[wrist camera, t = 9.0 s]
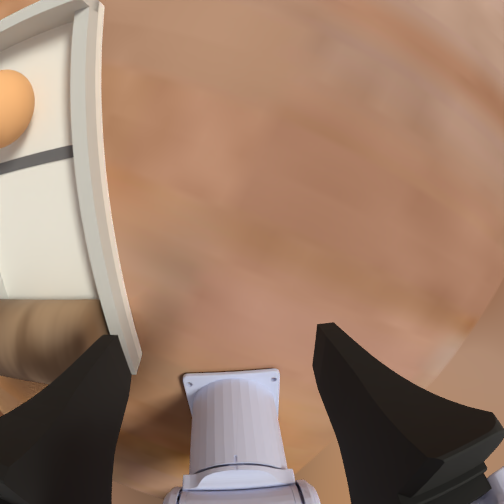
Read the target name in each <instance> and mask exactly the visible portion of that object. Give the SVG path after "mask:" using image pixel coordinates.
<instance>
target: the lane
mask: <svg viewBox="0 0 504 504" xmlns="http://www.w3.org/2000/svg"><path fill="white" fill-rule="evenodd" d="M104 8H105V6H104V5H103V4H102V3H101V2H99V1H98V0H41V1H38V2H36V3H34V4H32V5H30V6H27V7H25V8H23V9H21V10H19V11H17V12H15V13H13V14H11V15H9V16H7V17H6V18H4V19H2V20H0V70H6V69H8V70H14V71H17V72H19V73H21V74H23V75H24V76H25V77H26V78H27V79H28V80H29V82H30V83H31V85H32V88H33V91H34V96H35V107H34V112H33V116H32V118H31V121H30V123H29V125H28V127H27V128H26V130H25V131H24V133H23V134H22V135H21V136H20V137H19V138H18V139H17V140H16V141H14V142H13V143H11V144H10V145H8V146H6V147H4V148H0V299H33V300H76V299H99V300H100V302H101V305H102V309H103V312H104V316H105V319H106V322H107V326H108V329H109V332H110V335H118V337H119V340H120V343H121V346H122V349H123V352H124V355H125V358H126V361H127V363H128V366H129V369H130V372H131V374H133V375H136V374H137V370H138V367H139V364H140V360H141V357H142V351H141V347H140V344H139V340H138V337H137V333H136V329H135V326H134V322H133V318H132V314H131V310H130V306H129V302H128V298H127V293H126V289H125V284H124V280H123V275H122V270H121V265H120V260H119V255H118V250H117V244H116V239H115V233H114V227H113V221H112V214H111V207H110V200H109V192H108V184H107V175H106V165H105V154H104V141H103V125H102V100H101V59H102V34H103V20H104Z"/></svg>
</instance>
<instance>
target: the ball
mask: <svg viewBox="0 0 504 504" xmlns="http://www.w3.org/2000/svg"><path fill="white" fill-rule="evenodd" d="M34 107H35V96H34V91H33V88H32V85H31V83H30V82H29V80H28V79H27V78H26V77H25V76H24V75H23V74H21V73H19V72H17V71H14V70H8V69H6V70H0V148H4V147H6V146H8V145H10V144H11V143H13V142H14V141H16V140H17V139H18V138H19V137H20V136H21V135H22V134H23V133H24V131H25V130H26V128H27V127H28V125H29V123H30V121H31V118H32V116H33V112H34Z"/></svg>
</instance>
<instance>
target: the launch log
mask: <svg viewBox="0 0 504 504" xmlns="http://www.w3.org/2000/svg"><path fill="white" fill-rule="evenodd" d="M102 335H110V332H109V329H108V326H107V322H106V319H105V316H104V312H103V309H102V305H101V302H100V300H99V299H76V300H33V299H0V375H1V376H6V377H11V378H16V379H21V380H26V381H32V382H38V383H44V384H51V383H52V382H53V381H54V380H55V379H56V378H57V377H58V376H60V375H61V374H62V373H63V372H64V371H65V370H66V369H67V368H68V367H70V366H71V365H72V364H73V363H74V362H75V361H76V360H77V359H78V358H79V357H80V356H81V355H82V354H83V353H84V352H85V351H86V350H87V349H88V348H89V347H90V346H91V345H92V344H93V343H94V342H95V341H96V340H97V339H99V338H100V337H101V336H102Z"/></svg>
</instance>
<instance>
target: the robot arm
mask: <svg viewBox="0 0 504 504" xmlns="http://www.w3.org/2000/svg"><path fill="white" fill-rule="evenodd" d="M312 366H313V370H314V374H315V379H316V383H317V387H318V390H319V393H320V395H321V398H322V401H323V403H324V406H325V409H326V411H327V414H328V416H329V419H330V421H331V424H332V427H333V429H334V432H335V434H336V437H337V440H338V443H339V447H340V451H341V455H342V459H343V463H344V468H345V472H346V477H347V482H348V486H349V492H350V498H351V504H504V466H503V467H502V468H500V469H499V470H497V471H496V472H494V473H493V474H492V475H490V476H489V477H488V478H486V477H485V475H484V472H485V471H486V470H487V467H486V465H485V463H484V461H485V460H486V459H487V458H488V457H489V455H490V454H491V453H492V452H493V451H494V450H495V449H496V448H497V447H498V445H499V444H500V443H501V442H502V440H503V438H504V428H503V427H502V425H501V424H500V422H499V421H498V420H497V418H496V417H495V415H494V414H493V413H492V412H488V411H484V410H479V409H475V408H471V407H467V406H464V405H461V404H458V403H455V402H453V401H450V400H447V399H445V398H442V397H440V396H437V395H435V394H433V393H431V392H429V391H426V390H425V389H423V388H421V387H419V386H417V385H415V384H413V383H412V382H410V381H408V380H406V379H405V378H403V377H401V376H400V375H398V374H397V373H395V372H394V371H392V370H391V369H389V368H388V367H387V366H385V365H384V364H382V363H381V362H380V361H378V360H377V359H376V358H374V357H373V356H372V355H371V354H369V353H368V352H367V351H366V350H365V349H363V348H362V347H361V346H360V345H359V344H357V343H356V342H355V341H354V340H353V339H352V338H351V337H349V336H348V335H347V334H346V333H345V332H344V331H343V330H342V329H340V328H339V327H338V326H337V325H336V324H335V323H334V322H333V323H325V324H317V332H316V341H315V349H314V357H313V365H312ZM131 375H132V374H131V372H130V369H129V366H128V363H127V361H126V358H125V355H124V352H123V349H122V346H121V343H120V340H119V337H118V335H102V336H101V337H100V338H99V339H97V340H96V341H95V342H94V343H93V344H92V345H91V346H90V347H89V348H88V349H87V350H86V351H85V352H84V353H83V354H82V355H81V356H80V357H79V358H78V359H77V360H76V361H75V362H74V363H73V364H72V365H71V366H70V367H68V368H67V369H66V370H65V371H64V372H63V373H62V374H61V375H60V376H58V377H57V378H56V379H55V380H54V381H53V382H52V383H51V384H49V385H48V386H47V387H46V388H44V389H43V390H42V391H41V392H39V393H38V394H37V395H35V396H34V397H32V398H31V399H30V400H28V401H27V402H25V403H23V404H22V405H20V406H19V407H17V408H15V409H14V410H12V411H10V412H9V413H7V414H5V415H3V416H1V417H0V504H111V493H112V492H111V491H112V473H113V463H114V454H115V448H116V443H117V439H118V435H119V432H120V428H121V424H122V420H123V416H124V413H125V409H126V405H127V401H128V397H129V390H130V383H131ZM272 378H273V379H272ZM279 381H280V373H279V370H278V369H274V368H273V369H262V370H250V371H235V372H217V373H188V374H185V375H184V376H183V384H184V388H185V392H186V395H187V399H188V403H189V407H190V411H191V414H192V429H191V447H190V469H189V475H183V487H174V488H172V489H171V491H170V492H169V493H168V494H167V495H166V496H165V498H164V501H163V504H321V503H320V500H319V497H318V494H317V492H316V490H315V488H314V487H313V486H311V485H310V484H309V483H307V482H306V481H305V480H296V481H295V478H294V473H293V469H287V464H286V458H285V453H284V448H283V443H282V438H281V433H280V428H279V422H278V406H279ZM189 382H190V383H189Z"/></svg>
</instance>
